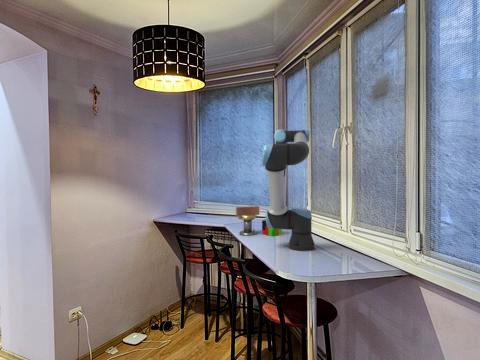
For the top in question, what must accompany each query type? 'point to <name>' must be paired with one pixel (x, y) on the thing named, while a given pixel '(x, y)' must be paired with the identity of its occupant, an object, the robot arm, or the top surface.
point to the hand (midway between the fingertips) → (281, 187)
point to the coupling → (247, 212)
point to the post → (247, 229)
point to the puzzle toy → (270, 230)
